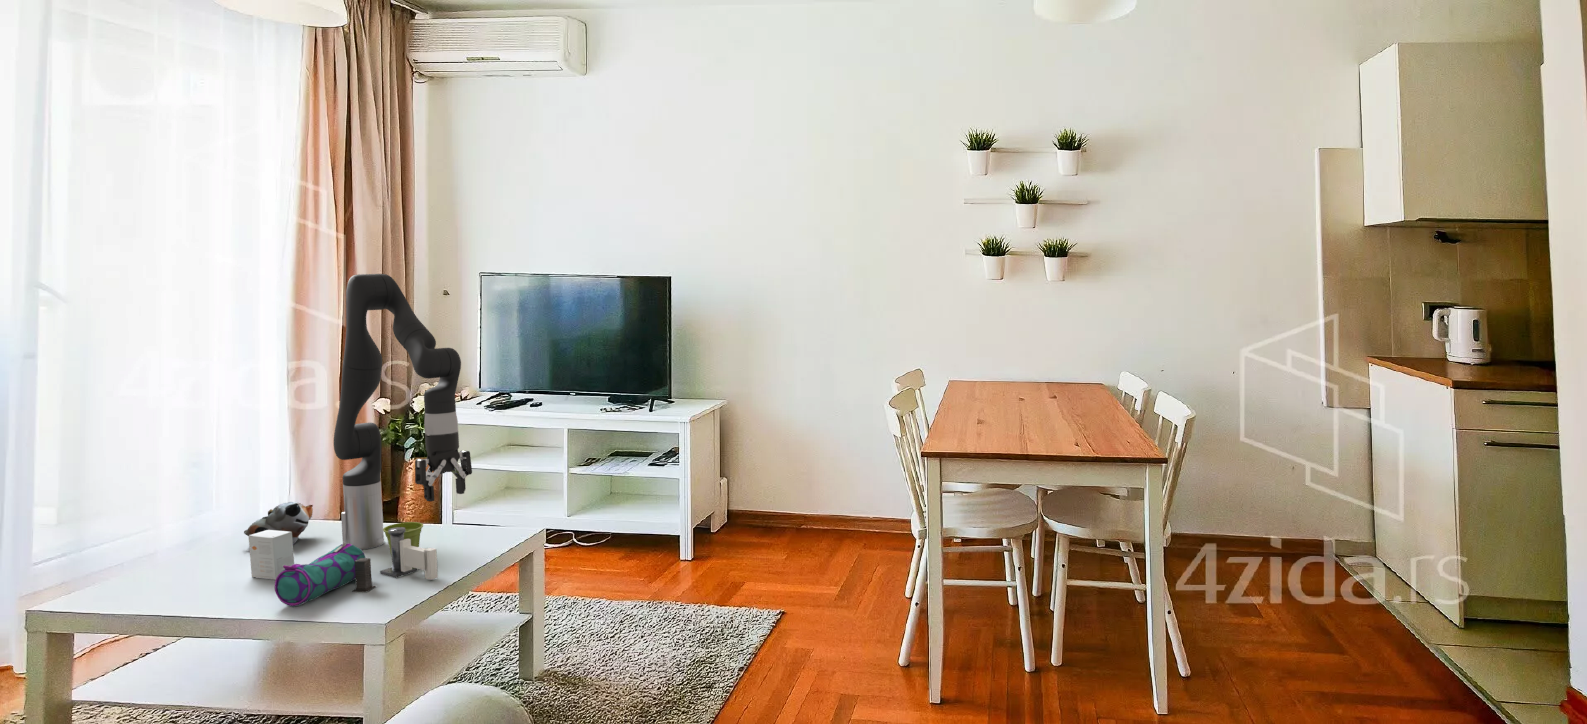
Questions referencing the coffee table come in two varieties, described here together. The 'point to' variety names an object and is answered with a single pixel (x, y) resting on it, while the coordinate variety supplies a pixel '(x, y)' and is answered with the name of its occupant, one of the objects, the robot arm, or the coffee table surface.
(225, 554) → the coffee table surface
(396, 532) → the post
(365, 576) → the post
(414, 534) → the plant pot
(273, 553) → the small box
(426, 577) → the gate
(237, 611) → the coffee table surface
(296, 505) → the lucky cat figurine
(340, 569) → the pencil case
